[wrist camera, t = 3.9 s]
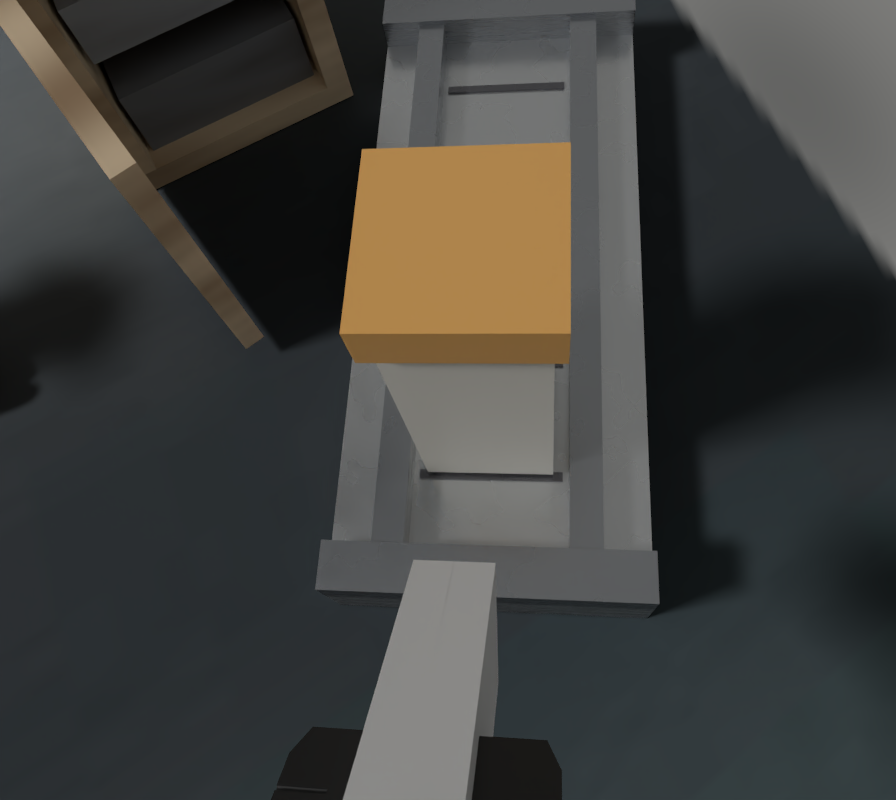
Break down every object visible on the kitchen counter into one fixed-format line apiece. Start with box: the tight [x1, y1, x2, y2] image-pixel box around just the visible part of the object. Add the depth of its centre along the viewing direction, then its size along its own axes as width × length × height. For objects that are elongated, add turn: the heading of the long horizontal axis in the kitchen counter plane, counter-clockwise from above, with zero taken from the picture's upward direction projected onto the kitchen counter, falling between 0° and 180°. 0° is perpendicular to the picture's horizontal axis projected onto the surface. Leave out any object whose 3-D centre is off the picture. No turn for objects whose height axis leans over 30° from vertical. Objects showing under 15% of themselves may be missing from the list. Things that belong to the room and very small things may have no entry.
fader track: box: [315, 0, 660, 618], centre depth 29 cm, size 24×10×3 cm, turn 177°
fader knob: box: [340, 142, 571, 475], centre depth 21 cm, size 5×5×10 cm
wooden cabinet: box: [0, 0, 353, 349], centre depth 29 cm, size 20×10×12 cm, turn 27°
